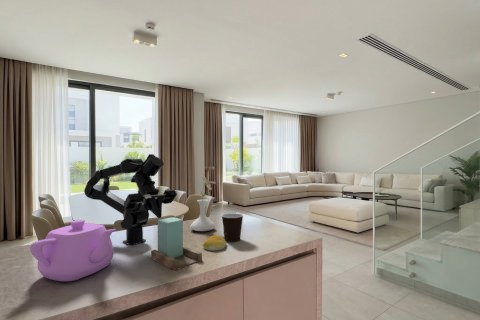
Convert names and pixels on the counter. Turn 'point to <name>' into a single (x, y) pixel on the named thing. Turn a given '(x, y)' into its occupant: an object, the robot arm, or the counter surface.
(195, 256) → the walnut chute
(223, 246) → the bread roll
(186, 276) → the counter surface
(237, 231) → the coffee mug
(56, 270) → the teapot
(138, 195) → the robot arm
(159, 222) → the teal block
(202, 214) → the flower in vase
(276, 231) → the counter surface
